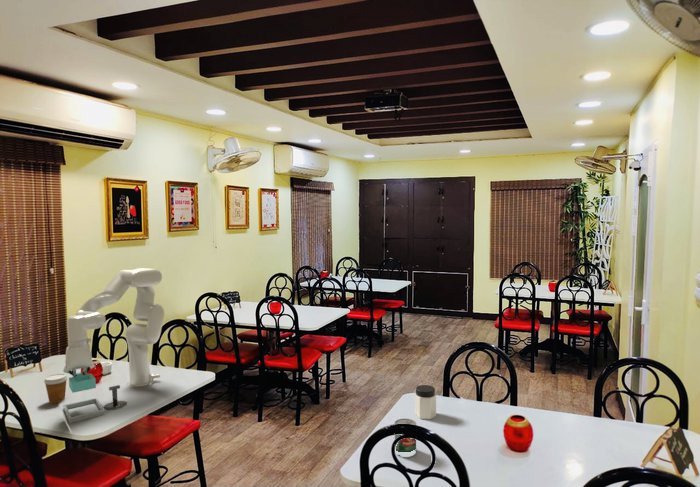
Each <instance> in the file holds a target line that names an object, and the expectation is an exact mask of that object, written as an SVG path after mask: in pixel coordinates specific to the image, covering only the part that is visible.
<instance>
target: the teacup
mask: <svg viewBox="0 0 700 487" xmlns="http://www.w3.org/2000/svg"><path fill="white" fill-rule="evenodd" d="M100 363H101V364H102V367H103V375H102V376H105V375H109V374H110V373H111V371H112V366H113V365H112V362H111V361H103V362H100Z"/></svg>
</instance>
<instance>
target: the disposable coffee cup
mask: <svg viewBox="0 0 700 487" xmlns="http://www.w3.org/2000/svg"><path fill="white" fill-rule="evenodd" d="M67 380H68V376H67V373H56V374H50V375H48V376H46V377H45V378H44V381H43V383H44V384H45V388H46V393H47V398H48V402H49V404H50V405H58V404H60V403H59V402H60V401H62V400H63V401H64V400H65V399H66V391H67V390H66V389H67V387H66V386H67Z"/></svg>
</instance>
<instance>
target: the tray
mask: <svg viewBox="0 0 700 487" xmlns="http://www.w3.org/2000/svg"><path fill="white" fill-rule="evenodd" d="M91 404H96V406H97V407H98V409H99V410H97V411H92V412H87V413H84V414H80V415H74V416H71V413H70V411H69V409H74V408H78V407H83V406H87V405H91ZM103 407H104V406H103V405H102V402H100V400H99V399H98V397H94V398H90V399H85V400H82V401H81V400H80V401H77V402H76V401H75V402H73V403H68V404H64V405H63V410H64V413H65V415H66V417H67V420H68V422H69V423H70V424H71V423H73V422H79V421H83V420H86V419H91V418H95V417H99V416H103V415H106V410H105V409H104V408H103Z"/></svg>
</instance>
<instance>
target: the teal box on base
mask: <svg viewBox="0 0 700 487" xmlns="http://www.w3.org/2000/svg"><path fill="white" fill-rule="evenodd" d="M82 373H83V371H80V372H76V374H77V376H76V377H73V376H71V377H68V387H69V389H70V390H71V393H72V394H74V393H78V392H82V391H83V392H84V391H88V390H93V389H96V388H97V385H96V384H97V383H96V382H97V381H96V377H95V376H94V375H93V374H92V373H87V374H86V375H83V374H82Z"/></svg>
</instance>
